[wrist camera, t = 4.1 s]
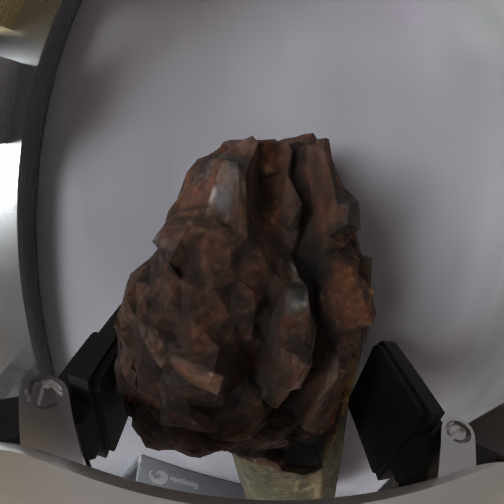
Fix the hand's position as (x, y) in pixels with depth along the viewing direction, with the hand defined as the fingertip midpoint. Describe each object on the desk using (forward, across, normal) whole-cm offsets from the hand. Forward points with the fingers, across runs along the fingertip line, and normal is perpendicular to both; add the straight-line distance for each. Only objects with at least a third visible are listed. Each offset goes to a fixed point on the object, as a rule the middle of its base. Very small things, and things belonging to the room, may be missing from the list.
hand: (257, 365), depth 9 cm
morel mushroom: (+2, 0, +2) cm, 2 cm away
